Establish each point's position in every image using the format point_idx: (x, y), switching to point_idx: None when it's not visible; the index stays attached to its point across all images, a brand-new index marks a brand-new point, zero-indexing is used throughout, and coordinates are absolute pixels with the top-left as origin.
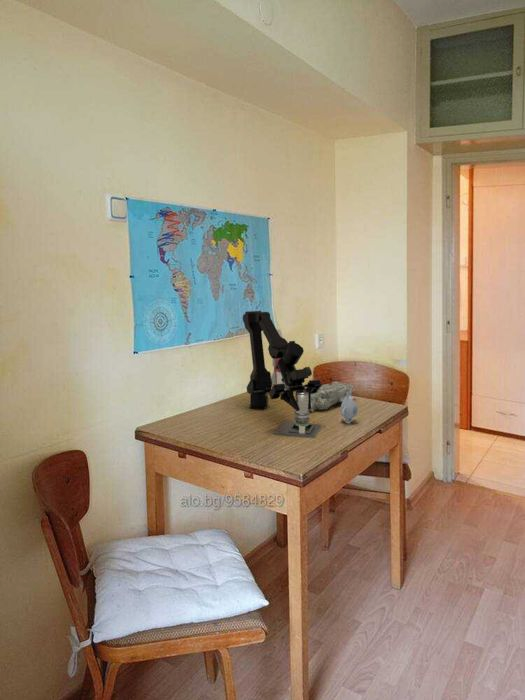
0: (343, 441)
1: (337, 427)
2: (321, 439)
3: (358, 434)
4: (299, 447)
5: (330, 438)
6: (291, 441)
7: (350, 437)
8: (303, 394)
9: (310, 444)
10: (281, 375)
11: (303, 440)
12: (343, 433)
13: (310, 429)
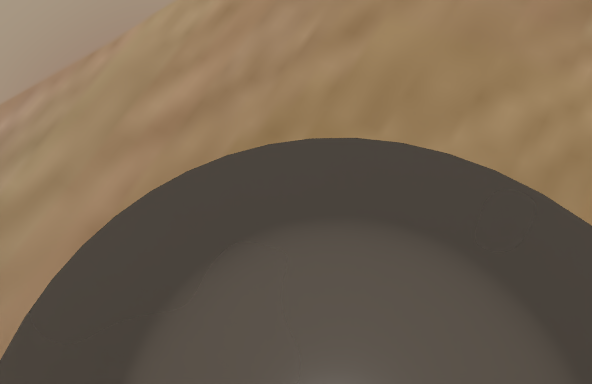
0: (194, 32)
1: (25, 311)
2: (303, 119)
3: (22, 109)
4: (550, 33)
5: (232, 112)
6: (560, 172)
7: (105, 79)
8: (429, 161)
9: (437, 59)
10: None
11: (447, 153)
12: (86, 167)
13: None
